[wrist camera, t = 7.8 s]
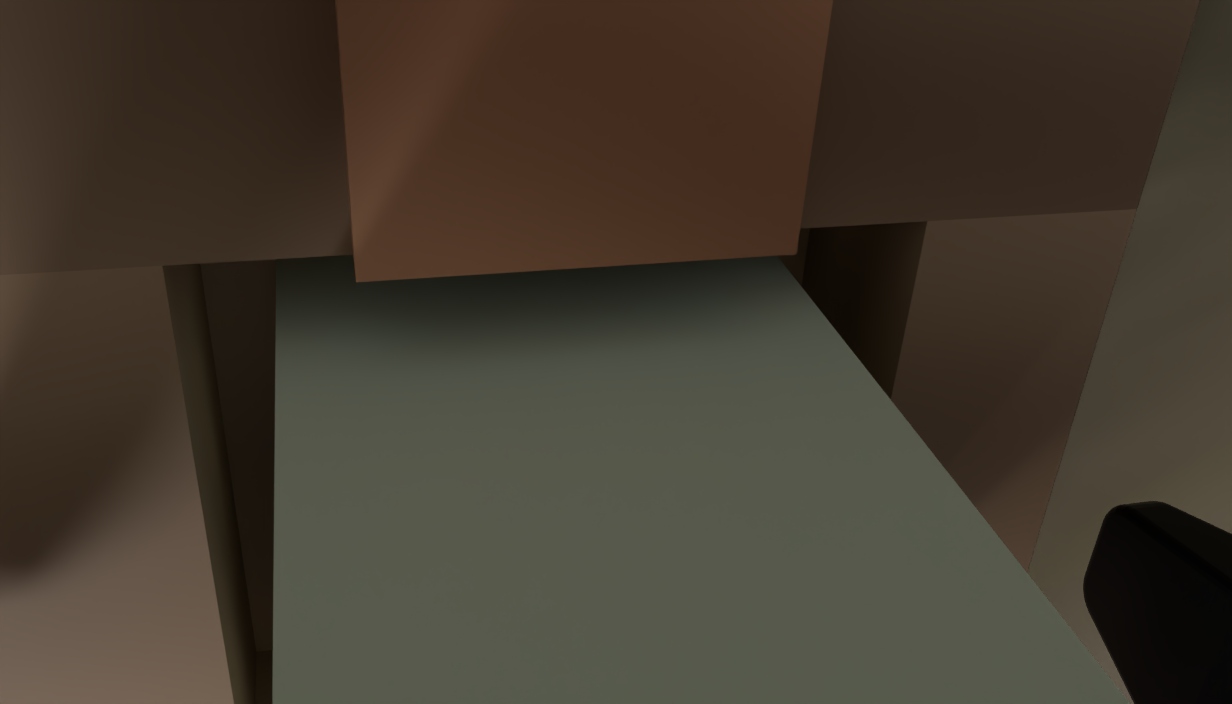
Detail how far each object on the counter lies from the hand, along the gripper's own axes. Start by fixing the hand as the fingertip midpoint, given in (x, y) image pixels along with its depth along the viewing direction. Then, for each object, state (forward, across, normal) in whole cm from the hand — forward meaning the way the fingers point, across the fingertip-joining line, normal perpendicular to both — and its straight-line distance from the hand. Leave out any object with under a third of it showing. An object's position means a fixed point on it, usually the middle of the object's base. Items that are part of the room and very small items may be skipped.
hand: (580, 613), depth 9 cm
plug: (+3, 0, 0) cm, 3 cm away
